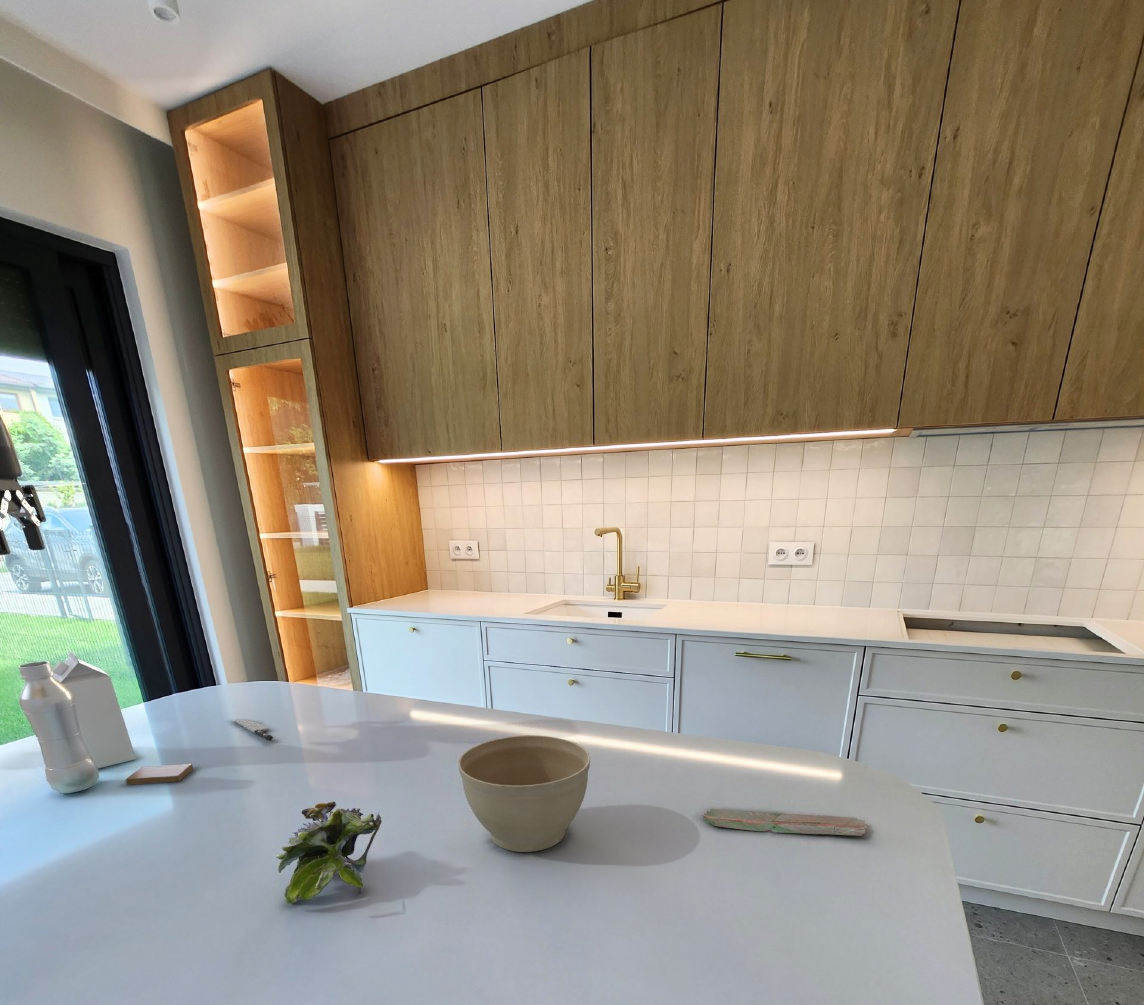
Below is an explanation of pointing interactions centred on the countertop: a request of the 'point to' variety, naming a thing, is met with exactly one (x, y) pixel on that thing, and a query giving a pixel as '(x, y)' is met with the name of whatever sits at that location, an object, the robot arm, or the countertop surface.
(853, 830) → the map
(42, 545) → the robot arm
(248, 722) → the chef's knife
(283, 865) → the passion flower
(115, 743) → the milk carton
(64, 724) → the plastic bottle
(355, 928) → the countertop surface
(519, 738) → the planter bowl
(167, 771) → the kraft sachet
